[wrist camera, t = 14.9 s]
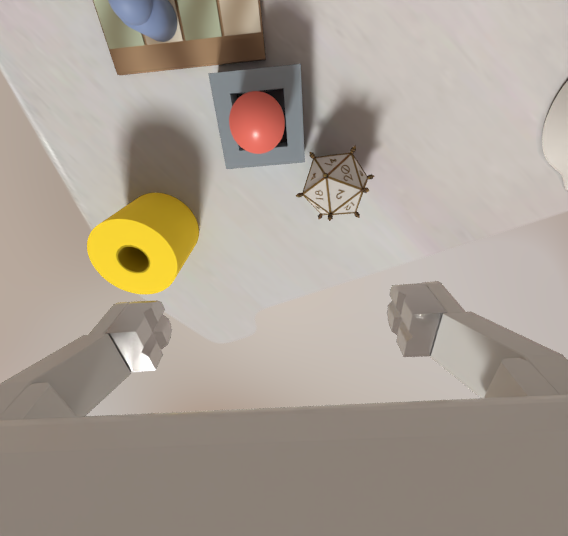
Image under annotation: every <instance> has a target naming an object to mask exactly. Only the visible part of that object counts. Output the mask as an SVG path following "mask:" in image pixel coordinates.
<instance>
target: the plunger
mask: <svg viewBox="0 0 568 536" xmlns="http://www.w3.org/2000/svg"><path fill="white" fill-rule="evenodd" d="M229 126H230V131H231V134H232V136H233V138H234V140H235V141H236V142H237V144H238V145H239V146H240V147H241V148H243V149H244V150H246V151H248V152H250V153H255V154H262V153H266V152H269V151H271V150H272V149H274V148H275V147H276V146H277V145H278V143H279V142H280V140H281V138H282V136H283V133H284V128H285V119H284V114H283V111H282V108H281V106H280V105H279V103H278V102H277V101H276V100H275V99H274V98H273V97H272V96H270V95H269V94H267V93H264V92H260V91H251V92H248V93H245V94H243V95H242V96H240V97H239V98H238V99H237V100H236V101H235V103H234V104H233V106H232V108H231V111H230V116H229Z"/></svg>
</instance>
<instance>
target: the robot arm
mask: <svg viewBox="0 0 568 536" xmlns="http://www.w3.org/2000/svg"><path fill="white" fill-rule="evenodd" d="M542 147H543V152H544V155H545V158H546V160H547V161H548V163H549V164H550V165H551V166H552V167H553V168H554V169H556V170H557V171H558V172H559V173H560V174H561V175H562V178H563V182H564V186H565V188H566V190H567V191H568V81H567V82H566V83H565V85H564V86H563V87H562V89H561V90H560V92H559V93H558V95H557V97H556V98H555V100H554V102H553V104H552V106H551V108H550V110H549V112H548V115H547V118H546V121H545V124H544V128H543V134H542ZM390 297H391V299H392V302H391V303H390V304H389V305H388V310H387V315H388V322H389V326H390V328H391V331H392V332H394V333H395V334H396V335H397V344H398V346H399V348H400V350H401V352H402V354H403V357H415V356H416V357H417V356H431V358H432V359H433V360H434V361H435V362H437V363H438V364H439V365H440V366H442V367H443V368H444V369H445V370H447V371H448V372H449V373H450V374H452V375H453V376H454V377H455V378H457V379H458V380H459V381H460V382H461V383H463V384H464V385H465V386H466V387H468V388H469V389H470V390H471V391H472V392H474V393H475V394H476V395H477V396H479V397H480V399H457V400H436V401H435V400H434V401H413V402H391V403H370V404H347V405H325V406H303V407H283V408H282V407H281V408H262V409H261V408H259V409H237V410H215V411H195V412H172V413H151V414H128V415H107V416H86V415H87V414H88V413H89V412H90V411H91V410H92V409H93V408H95V407H96V406H97V405H98V404H99V403H100V402H101V401H102V400H103V399H104V398H105V397H106V396H107V395H108V394H110V393H111V392H112V391H113V390H114V389H115V388H116V387H117V386H118V385H119V384H120V383H121V382H122V381H124V380H125V379H126V378H127V377H128V376H129V375H130V374H131V372H140V371H150V370H151V371H152V370H156V368H157V366H158V364H159V362H160V359H161V357H162V356H163V354H162V351H161V349H163V348H164V347H165V346H166V345H168V343H169V340H170V338H171V331H172V329H171V323H170V321H169V319H168V318H167V317H166V316H164V315H163V313H164V310H165V309H164V306H163V304H162V302H160V301H138V302H122V303H121V302H120V303H116V304H114V305H113V306H112V307H111V308H110V310H109V311H108V312H107V313H106V314H105V315H104V317H103V318H102V319H101V320H100V322H99V323H98V324H97V325H96V326H95V327H94V329H93V330H92V331H91V332H90V333H89V334H88V335H83V336H82V337H80V338H78V339H77V340H75V341H73V342H71V343H69V344H68V345H66V346H64V347H63V348H61V349H59V350H58V351H56V352H54V353H52V354H50V355H49V356H47V357H45V358H44V359H42V360H40V361H39V362H37V363H35V364H33V365H31V366H30V367H28V368H26V369H25V370H23V371H21V372H20V373H18V374H16V375H14V376H13V377H11V378H9V379H7V380H6V381H4V382H2V383H1V384H0V536H568V360H567V359H566V358H565V357H564V356H563V355H562V354H560V353H557V352H555V351H553V350H551V349H549V348H547V347H545V346H542V345H541V344H538V343H536V342H534V341H532V340H530V339H528V338H526V337H524V336H521V335H519V334H517V333H515V332H513V331H511V330H509V329H507V328H504V327H502V326H500V325H498V324H496V323H494V322H492V321H489V320H487V319H485V318H483V317H481V316H479V315H477V314H475V313H473V312H465V310H464V309H463V308H462V307H461V306H460V305H459V304H458V302H457V301H456V300H455V299H454V298H453V296H452V295H451V294H450V293H449V292H448V291H447V289H446V288H445V287H444V286H443V285H442V283H440V282H438V281H435V282H424V283H417V284H403V285H392V287H391V289H390Z"/></svg>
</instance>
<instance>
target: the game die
mask: <svg viewBox="0 0 568 536" xmlns="http://www.w3.org/2000/svg"><path fill="white" fill-rule="evenodd" d="M355 150H356V146H354V147H352V148H351V150H350V151H351V152H350V153H343V154H336V155H328V156H321V157H315V154H313V153H312V152H309V153H310V157H311V158H313V161H312V164H311V168H310V171H309V174H308V177H307V180H306V183H305V186H304V190H303V193H298V194H297V195H296V196H297V197H301V196H304V197H305V198H306V199H307V200H308V201H309V202H310V203H311V204H312V205H313V206H314V207H315V208H316V209H317V210H318V211H319V213H320V214H319V216H318V218H319V219H320V218H322V216H323V215H328V219H329V221H330V220H331V219H333V218H332V217H333V216H332V215H337V214H349V213H354V214H355V216H356V217H358V218H359V215H360V214H359V213H358V212H357V208H358V205H359V202H360V200H361V197H362V194H363V192H365V193H367V192H368V191H369V189H368V188H365V186H366V183H367V180H368V179H373V177H374V176H373V175H369V176H367V175H366V174H365V172H364V171H363V169H362V167H361V166H360V164H359V163H358V161H357V160H356V158H355V157H354V155H353V153H354V152H355ZM322 214H323V215H322Z"/></svg>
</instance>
